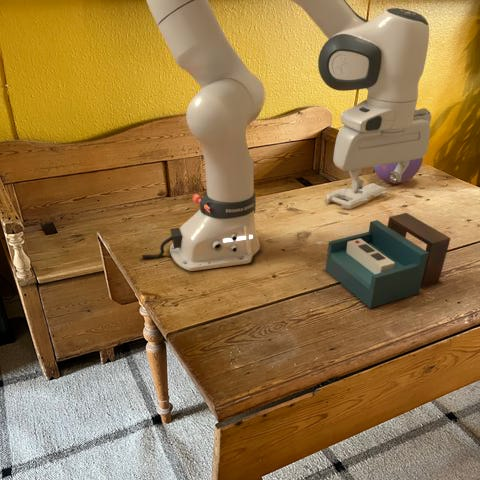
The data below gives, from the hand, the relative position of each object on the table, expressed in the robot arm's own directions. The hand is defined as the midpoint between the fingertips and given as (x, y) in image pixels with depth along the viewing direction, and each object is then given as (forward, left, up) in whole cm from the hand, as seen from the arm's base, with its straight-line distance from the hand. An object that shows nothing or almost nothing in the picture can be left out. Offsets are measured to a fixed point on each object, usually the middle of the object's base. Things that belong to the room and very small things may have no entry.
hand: (375, 185), depth 100 cm
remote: (0, -2, -17) cm, 17 cm away
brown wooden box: (+12, -2, -22) cm, 25 cm away
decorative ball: (+44, +42, -22) cm, 65 cm away
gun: (+25, +36, -22) cm, 49 cm away
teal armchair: (+1, -2, -22) cm, 22 cm away
